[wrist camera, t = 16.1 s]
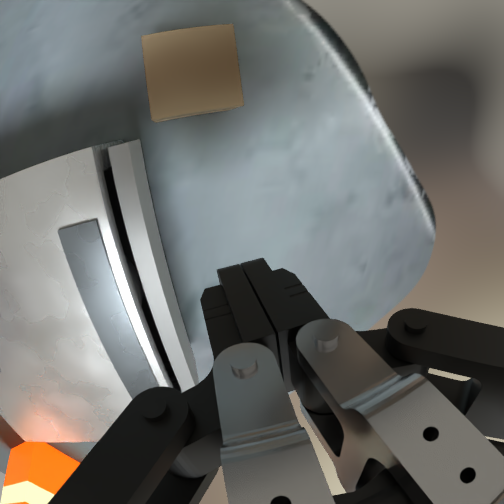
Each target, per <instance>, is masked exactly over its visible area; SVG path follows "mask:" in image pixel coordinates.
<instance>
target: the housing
mask: <svg viewBox="0 0 504 504" xmlns="http://www.w3.org/2000/svg"><path fill="white" fill-rule="evenodd" d="M122 143H123V140H118V141H114V142H109V143H105V144H101V145H96V146H92V147H89V148H85V149H82V150H79V151H76V152H72V153H69V154H66V155H63V156H60V157H57V158H54V159H51V160H48V161H46V162H43V163H40V164H37V165H35V166H32V167H29V168H27V169H24V170H22V171H19V172H16V173H14V174H12V175H9V176H7V177H4V178H2V179H0V415H1V416H2V417H3V418H4V419H5V420H6V422H7V423H8V424H9V425H10V426H11V427H12V428H13V429H14V430H15V431H16V433H17V434H18V435H19V436H20V437H21V438H22V439H23V440H24V441H29V442H90V441H99V440H100V439H101V438H102V436H103V435H104V434H105V433H106V431H107V430H108V429H109V428H110V426H111V425H112V424H113V423H114V422H115V420H116V419H117V418H118V417H119V415H120V414H121V413H122V412H123V411H124V409H125V408H126V407H127V406H128V404H129V403H130V402H131V401H132V400H133V399H134V398H135V397H136V396H137V395H138V394H139V393H141V392H143V391H145V390H147V389H149V388H153V387H158V386H165V387H171V388H174V389H176V390H178V391H179V392H181V393H182V390H181V387H180V385H179V383H178V380H177V378H176V376H175V373H174V371H173V370H170V371H166V369H165V366H164V364H163V362H162V359H161V357H160V354H159V352H158V349H157V347H156V344H155V342H154V339H153V337H152V334H151V331H150V329H149V326H148V323H147V321H146V318H145V315H144V313H143V310H142V307H141V304H140V301H139V298H138V295H137V292H136V289H135V286H134V283H133V280H132V277H131V274H130V271H129V268H128V265H127V261H126V258H125V255H124V251H123V248H122V244H121V241H120V237H119V234H118V230H117V226H116V223H115V219H114V215H113V211H112V207H111V203H110V199H109V194H108V190H107V186H106V181H105V177H104V172H103V171H104V170H106V169H108V168H111V167H112V166H111V161H110V156H109V151H108V148H109V147H112V146H115V145H119V144H122Z"/></svg>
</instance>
